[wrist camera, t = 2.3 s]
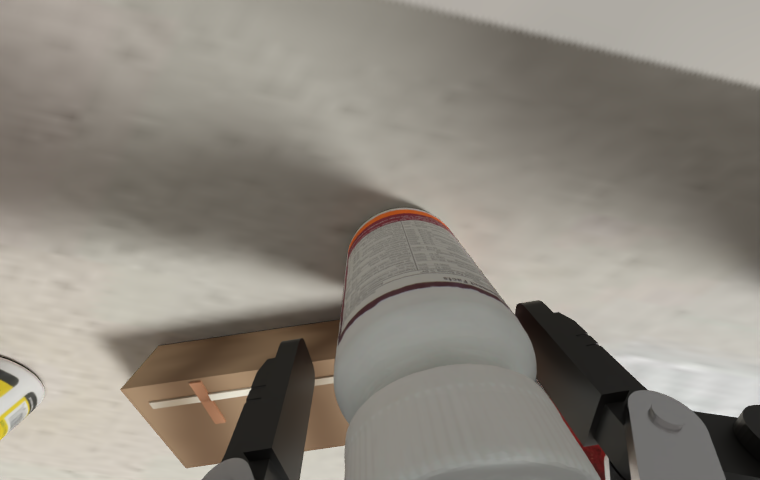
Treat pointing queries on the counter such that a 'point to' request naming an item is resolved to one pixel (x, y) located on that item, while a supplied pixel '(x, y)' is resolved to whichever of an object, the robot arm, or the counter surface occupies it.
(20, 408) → the supplement bottle
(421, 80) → the counter surface
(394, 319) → the pill bottle
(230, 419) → the brown banded box
